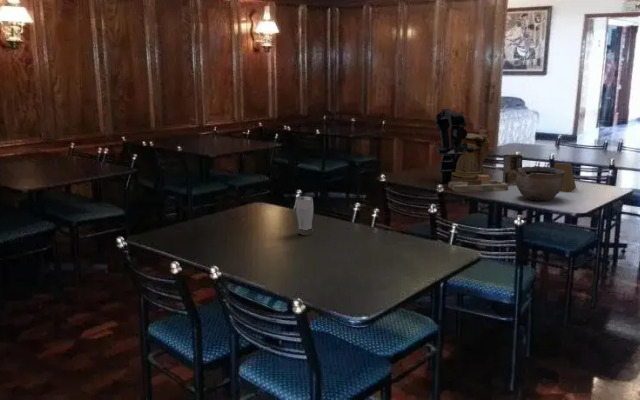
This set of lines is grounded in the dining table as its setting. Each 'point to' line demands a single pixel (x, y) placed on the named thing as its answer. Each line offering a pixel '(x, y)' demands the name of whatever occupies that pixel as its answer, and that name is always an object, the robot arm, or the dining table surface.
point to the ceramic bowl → (539, 182)
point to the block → (484, 179)
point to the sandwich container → (566, 176)
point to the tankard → (473, 157)
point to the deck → (476, 185)
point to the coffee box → (511, 168)
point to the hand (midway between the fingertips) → (454, 165)
